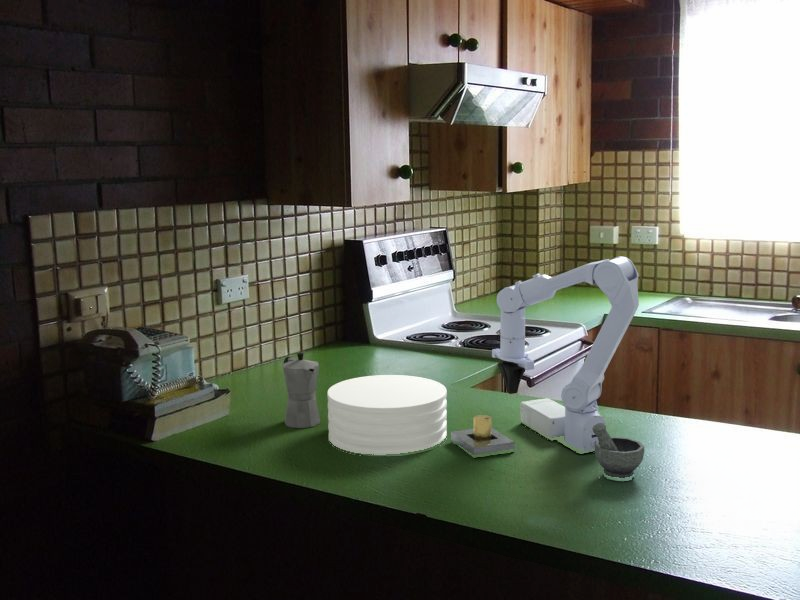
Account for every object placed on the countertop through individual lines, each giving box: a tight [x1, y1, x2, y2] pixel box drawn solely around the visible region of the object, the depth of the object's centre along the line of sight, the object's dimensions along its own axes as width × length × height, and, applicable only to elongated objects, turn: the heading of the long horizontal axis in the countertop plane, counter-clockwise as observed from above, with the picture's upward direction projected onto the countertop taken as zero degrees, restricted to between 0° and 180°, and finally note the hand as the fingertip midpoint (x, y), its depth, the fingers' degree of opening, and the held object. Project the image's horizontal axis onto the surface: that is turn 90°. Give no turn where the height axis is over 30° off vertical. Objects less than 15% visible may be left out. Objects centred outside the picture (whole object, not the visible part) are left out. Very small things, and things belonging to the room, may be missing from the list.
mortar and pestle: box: [592, 423, 645, 478], centre depth 178 cm, size 11×9×12 cm
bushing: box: [473, 414, 492, 442], centre depth 197 cm, size 4×4×7 cm
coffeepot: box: [282, 352, 321, 429], centre depth 216 cm, size 15×9×18 cm, turn 33°
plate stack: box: [326, 374, 448, 455], centre depth 205 cm, size 28×28×12 cm
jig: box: [450, 426, 515, 455], centre depth 197 cm, size 12×10×2 cm
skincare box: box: [519, 397, 565, 438], centre depth 208 cm, size 8×6×15 cm
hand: (512, 392), depth 205 cm, fingers closed
